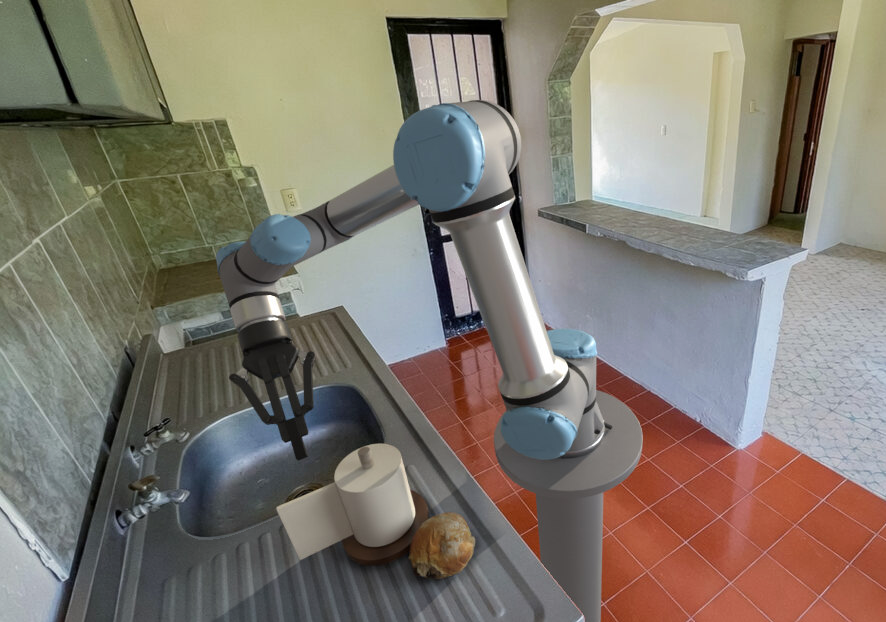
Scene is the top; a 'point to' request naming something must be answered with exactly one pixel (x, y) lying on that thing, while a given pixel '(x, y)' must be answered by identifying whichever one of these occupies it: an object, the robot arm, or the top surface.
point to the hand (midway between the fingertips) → (302, 457)
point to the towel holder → (396, 548)
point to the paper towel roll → (353, 505)
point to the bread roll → (441, 546)
